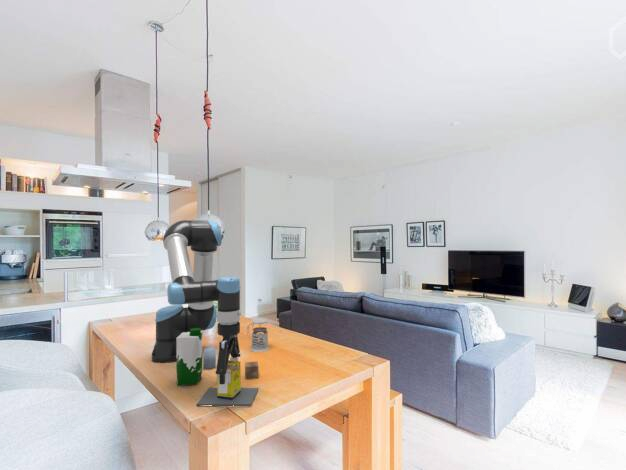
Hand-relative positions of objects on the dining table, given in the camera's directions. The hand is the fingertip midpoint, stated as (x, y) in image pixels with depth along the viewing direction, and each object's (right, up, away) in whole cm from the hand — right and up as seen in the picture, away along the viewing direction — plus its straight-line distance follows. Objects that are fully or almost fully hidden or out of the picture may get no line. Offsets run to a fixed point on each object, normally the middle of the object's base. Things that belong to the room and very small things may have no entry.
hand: (228, 383), depth 115 cm
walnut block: (+5, -5, +18) cm, 19 cm away
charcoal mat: (0, -5, 0) cm, 5 cm away
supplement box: (0, -4, 0) cm, 4 cm away
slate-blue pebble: (-15, -5, +27) cm, 32 cm away
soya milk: (-19, -5, +13) cm, 24 cm away
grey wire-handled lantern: (+2, -6, +52) cm, 52 cm away
